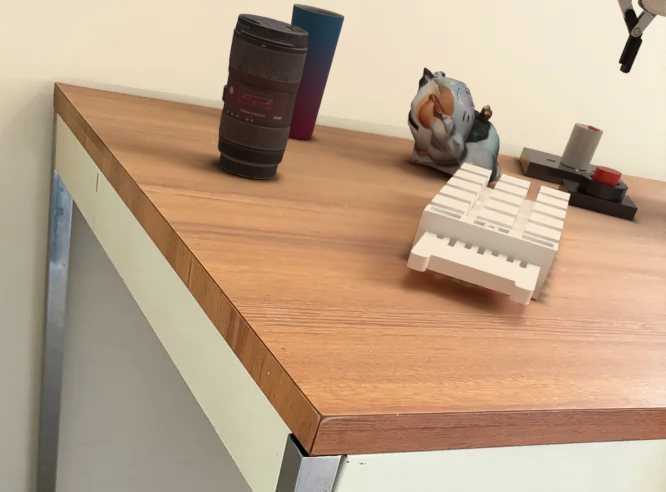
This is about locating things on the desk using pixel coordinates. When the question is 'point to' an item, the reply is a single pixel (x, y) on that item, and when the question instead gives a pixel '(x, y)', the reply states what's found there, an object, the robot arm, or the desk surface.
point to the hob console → (550, 167)
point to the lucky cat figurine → (451, 127)
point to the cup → (313, 65)
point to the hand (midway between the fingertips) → (649, 76)
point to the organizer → (491, 233)
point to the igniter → (599, 196)
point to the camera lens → (260, 95)
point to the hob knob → (581, 146)
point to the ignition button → (607, 175)
